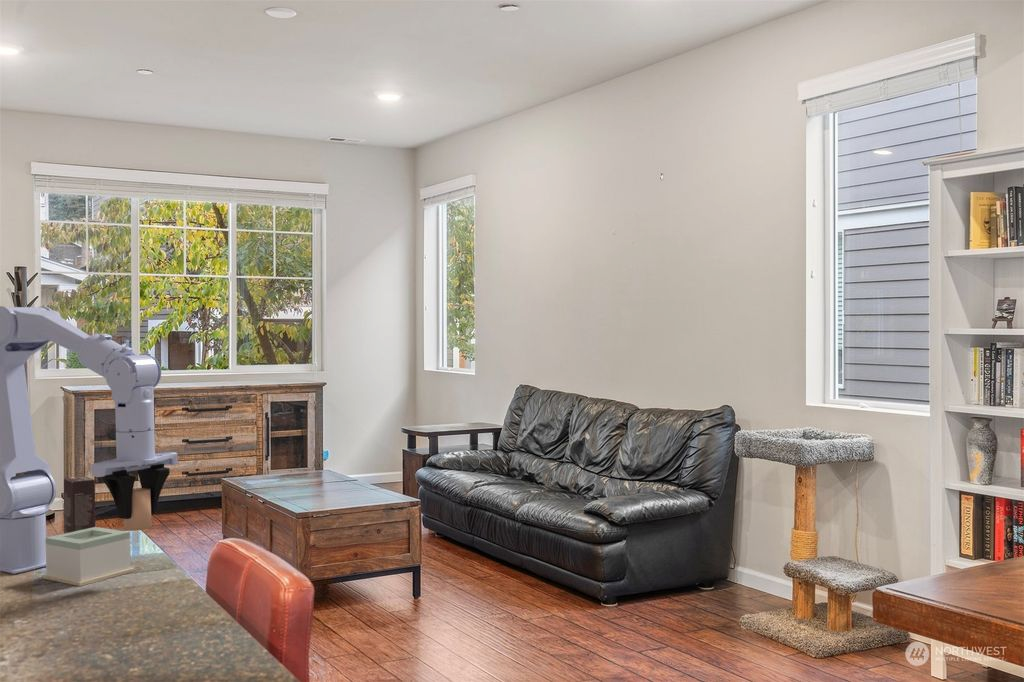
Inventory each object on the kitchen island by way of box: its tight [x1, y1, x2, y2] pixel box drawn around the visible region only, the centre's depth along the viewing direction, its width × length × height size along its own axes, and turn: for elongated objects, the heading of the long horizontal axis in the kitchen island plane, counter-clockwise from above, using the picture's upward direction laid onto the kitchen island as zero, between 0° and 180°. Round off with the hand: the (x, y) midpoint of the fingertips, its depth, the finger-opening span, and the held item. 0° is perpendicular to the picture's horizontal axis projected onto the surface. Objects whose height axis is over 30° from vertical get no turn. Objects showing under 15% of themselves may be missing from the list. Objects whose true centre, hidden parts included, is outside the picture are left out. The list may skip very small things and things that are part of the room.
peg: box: [123, 487, 152, 531], centre depth 149 cm, size 4×4×6 cm
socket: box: [41, 526, 136, 587], centre depth 153 cm, size 10×10×6 cm
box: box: [63, 476, 96, 534], centre depth 177 cm, size 6×4×12 cm
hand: (137, 515), depth 149 cm, fingers closed on peg, 4 cm apart
